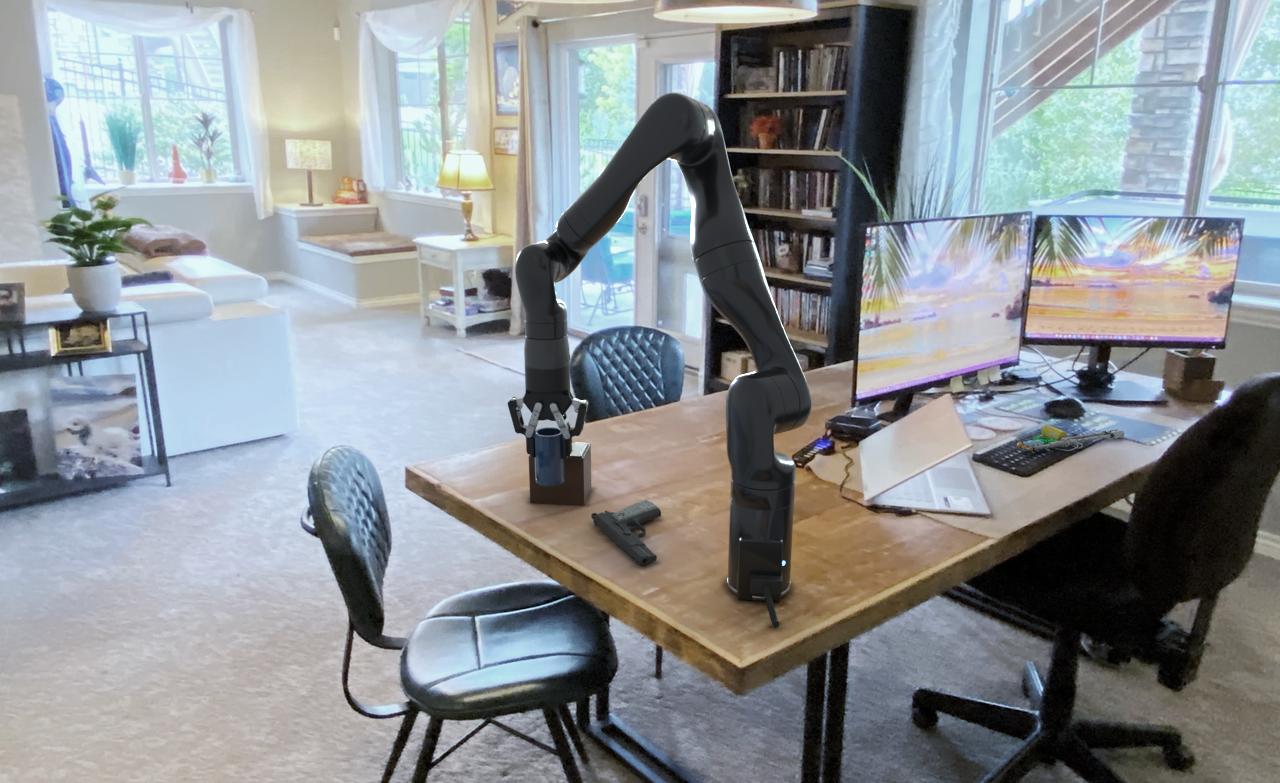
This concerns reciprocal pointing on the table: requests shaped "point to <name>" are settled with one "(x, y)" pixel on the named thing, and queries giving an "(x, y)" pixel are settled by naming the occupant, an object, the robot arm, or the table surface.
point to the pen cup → (549, 456)
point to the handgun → (629, 528)
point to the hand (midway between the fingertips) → (549, 456)
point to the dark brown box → (566, 479)
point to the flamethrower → (1064, 439)
